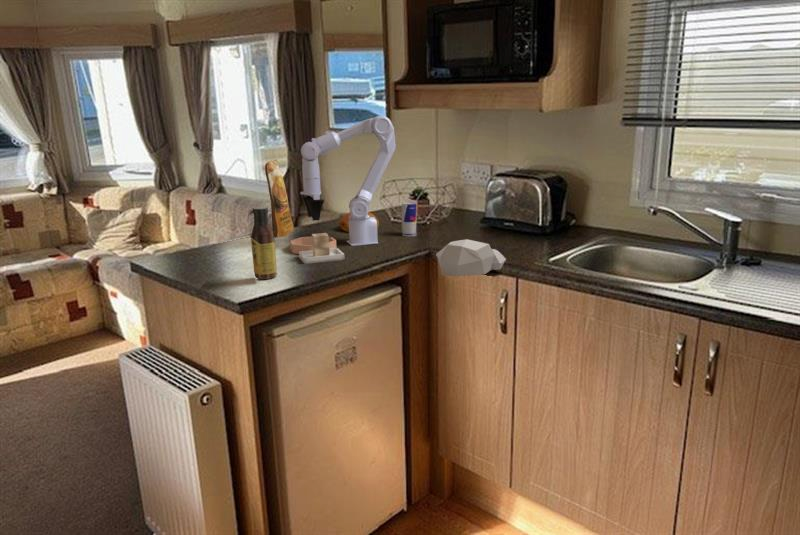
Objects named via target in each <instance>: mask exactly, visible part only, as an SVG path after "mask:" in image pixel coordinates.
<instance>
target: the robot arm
mask: <svg viewBox="0 0 800 535" xmlns="http://www.w3.org/2000/svg"><path fill="white" fill-rule="evenodd" d="M363 133H364V134H375V136H376V137H377V140H378V143H379V146H380V148H379V150H378V152H377V154H376V155H375V158H374V160H373V162H372V164H371V166H370V168H369V170H368V172H367V174H366V177H365V178H364V180H363V182H362V185H361V186H360V188H359V190H358V191H357V194H356V195H355V196H354V197H353V198H352V199H351V200H350V201H349V204H348V208H349V212H350V213H351V215H350V216H349V232H348V234H349V239H348V240H346V243H347V244H349V245H350V246H352V247H355V246H356V247H357V246H367V245H376V244H379V241H378V229H377V222H376V219H375V217H376V216H375V217H370V216H369V215H368V212H370V211H369V210H370V209H369V207H370V206H369V205H370V204H371V201H372V198H373V195H374V193H375V191H376V189H377V186H378V185H379V182H380V181H381V179H382V176H383V175H384V173H385V171H386V168H387V167H388V164H389V163H390V161H391V159H392V157H393V154H394V153H395V151H396V137H395V127H394V125H393V123H392V120H390V117H389V118H388V117H387V116H384V115H377V116H375V117H373V118H368V119H364V120H362V121H360V122H357V123H355V124H353V125H351V126H349V127H347V128H345V129H343V130H340V131H339V132H335V131H333V130H332V131H328V130H326V131H325V132H324V134H323V135H320V136H318V137H316V138H314V137H312V138H311V141H307V142H305V143H304V144H303V145H302V146H301V149H300V154H301V156H302V159H301V161H302V162H301V163H302V165H301V169H302V184H303V185H302V186H303V191H300V195H305V196H301V199H302V201H303V203H304V205H305V208H306V214H307V216H308V217H309V218H311V219H312V221H320V218H321V212H322V208H323V205H324V203H325V199H321V196H320V195H322V188H321V187H322V186H321V174H320V173H321V172H320V170H321V169H320V164H319V155H321V156H323V155H326V154H327V153H329V152H331V151H334V150H336V149H338V148H340V146H341V143H342V142H344V141H346V140H348V139H351V138H353V137H355V136H358V135H360V134H363Z"/></svg>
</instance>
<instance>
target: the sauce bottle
mask: <svg viewBox="0 0 800 535" xmlns="http://www.w3.org/2000/svg"><path fill="white" fill-rule="evenodd" d="M268 208H269V207H267V206H263V205H262V206H253V207H252V213H253V227H252V231H251V233H250V242H251V254H252V263H253V264H252V266H253V273H254V277H255V279H258V280H272V279H274V278H276V277H277V275H278V273H277V272H278V271H277V270H278V269H277V256H276V244H275V239H274V238H275V237H274V233H273V228H272V226H271V225H270V224H269V216H268V214H269V209H268Z"/></svg>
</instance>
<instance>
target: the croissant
mask: <svg viewBox="0 0 800 535" xmlns="http://www.w3.org/2000/svg"><path fill="white" fill-rule="evenodd" d="M350 215H351V213H350V211H349V212H348V213H346V214H345V215H343V216H342V217H341V218H340V220H339V221H338V224H339V227H340V229H341V230H342V231H344V232H346V233H349V216H350ZM368 215H369V216H370V217H375V219H376V222H377V230H378V229H379V227H380V221H379V219H378V217H377V216H376V215H375V214H373V213H372V212H370V211H368Z"/></svg>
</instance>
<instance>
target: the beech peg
mask: <svg viewBox="0 0 800 535" xmlns="http://www.w3.org/2000/svg"><path fill="white" fill-rule="evenodd" d="M311 236H312V245H313V256H314V257H317V256H327V255H330V253H329V237H330V236H329V235H328V233H327V232H321V233H311Z"/></svg>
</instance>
